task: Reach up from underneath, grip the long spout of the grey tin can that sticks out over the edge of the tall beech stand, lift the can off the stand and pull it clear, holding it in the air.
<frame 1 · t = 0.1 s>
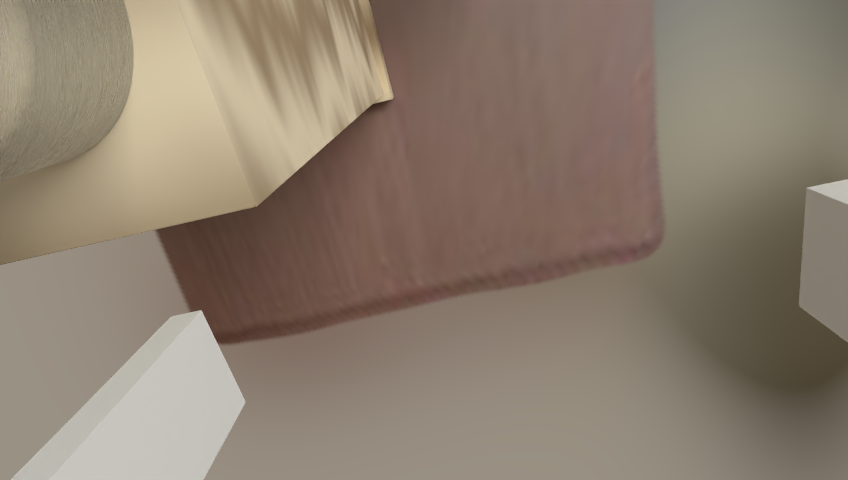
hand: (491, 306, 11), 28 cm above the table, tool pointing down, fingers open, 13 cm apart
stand: (314, 35, 35), on the table
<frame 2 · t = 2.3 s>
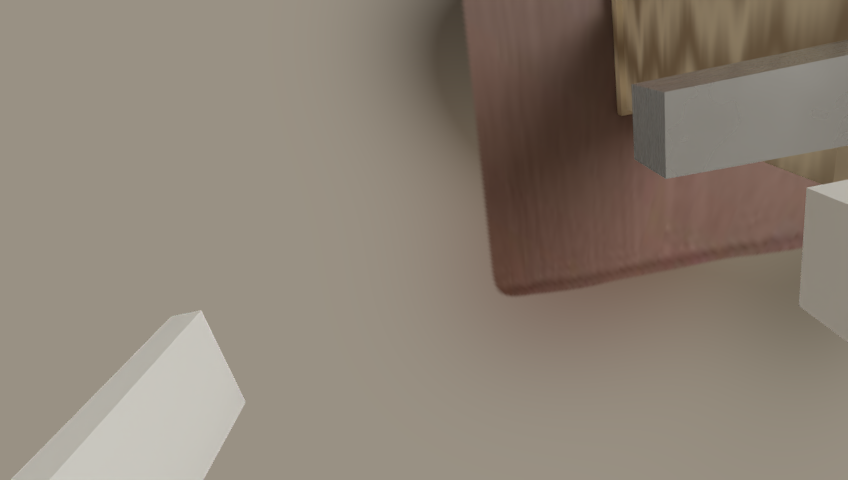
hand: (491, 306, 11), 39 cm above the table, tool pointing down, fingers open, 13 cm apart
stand: (664, 44, 44), on the table
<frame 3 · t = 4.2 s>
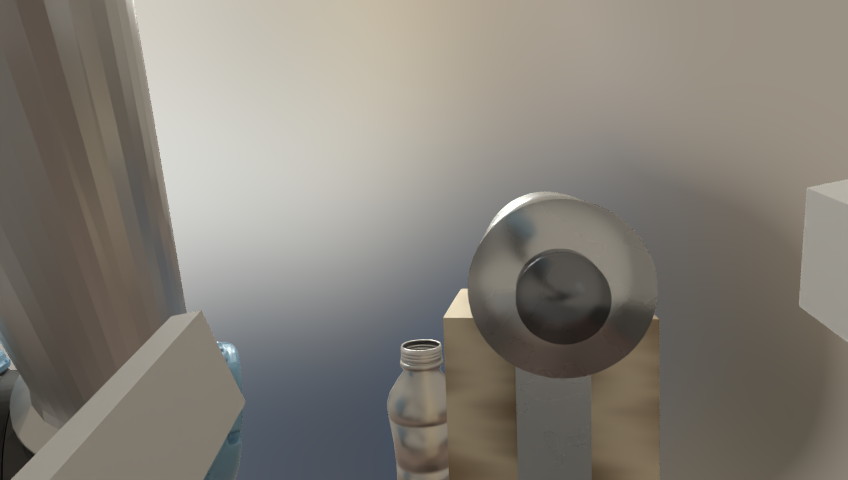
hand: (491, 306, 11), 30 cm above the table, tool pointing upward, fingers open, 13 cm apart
spout can: (544, 253, 23), point 30 cm above the table, tilted 93°, touching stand
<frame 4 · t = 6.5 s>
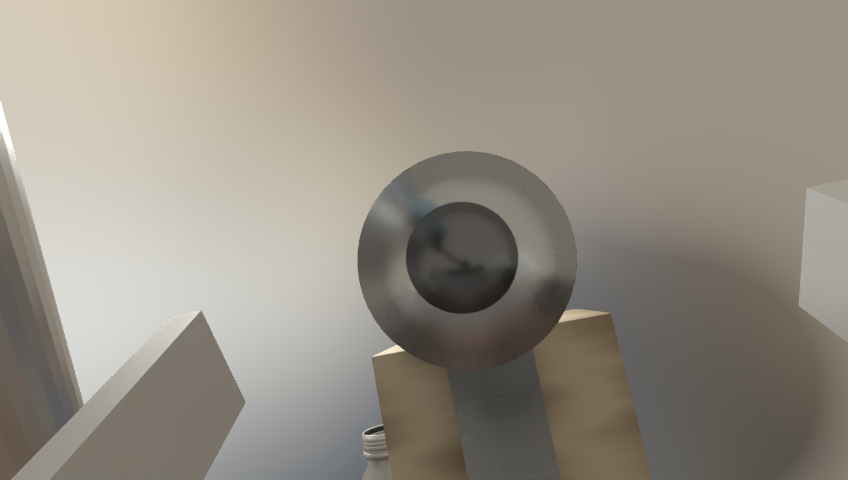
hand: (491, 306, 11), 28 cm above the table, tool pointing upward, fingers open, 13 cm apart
spout can: (473, 264, 21), point 30 cm above the table, tilted 93°, touching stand
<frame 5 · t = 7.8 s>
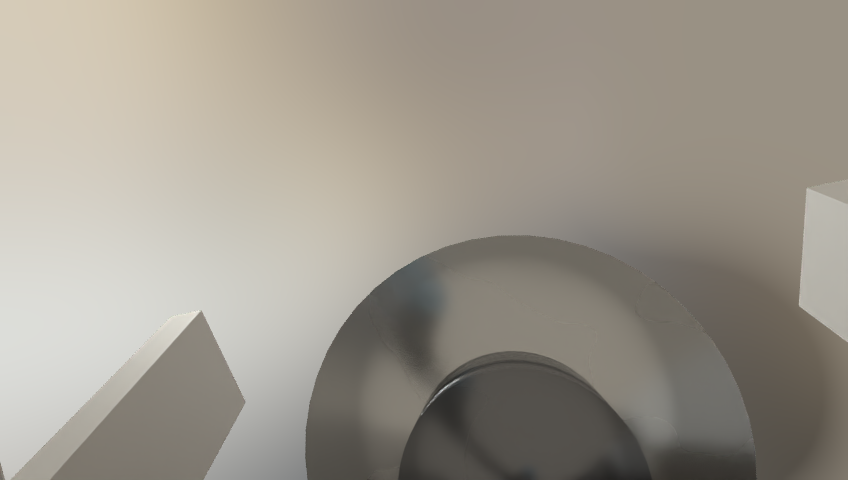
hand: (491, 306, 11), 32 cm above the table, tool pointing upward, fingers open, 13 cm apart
spout can: (502, 354, 14), point 30 cm above the table, tilted 93°, touching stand
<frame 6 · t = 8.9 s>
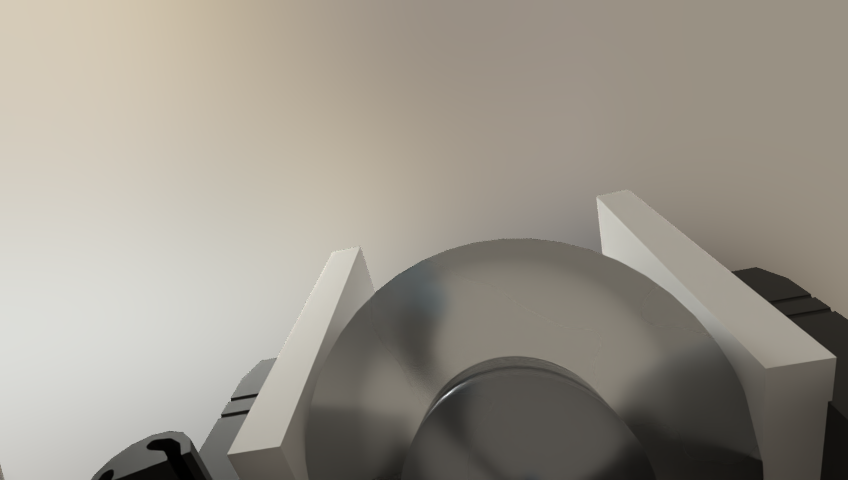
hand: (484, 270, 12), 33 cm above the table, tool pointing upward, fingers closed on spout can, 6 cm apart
spout can: (503, 356, 14), point 30 cm above the table, tilted 93°, touching gripper, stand
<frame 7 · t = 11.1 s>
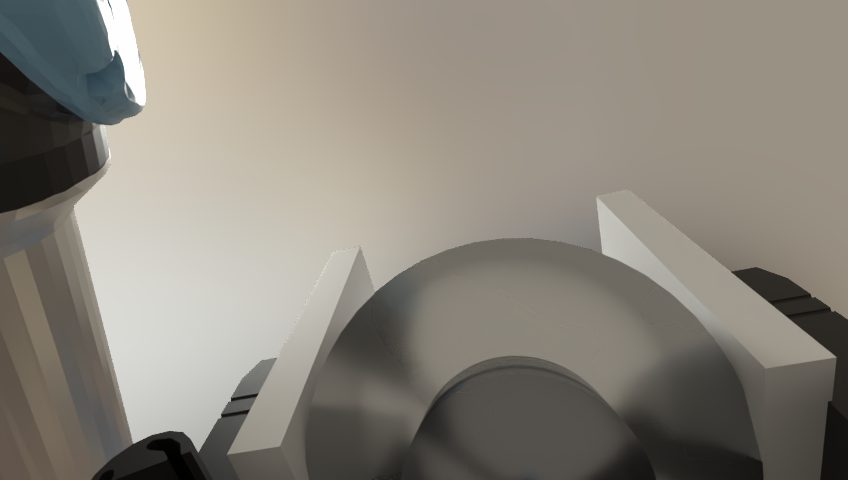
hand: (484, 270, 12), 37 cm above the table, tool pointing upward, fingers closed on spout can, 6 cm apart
spout can: (503, 356, 14), point 34 cm above the table, tilted 93°, touching gripper
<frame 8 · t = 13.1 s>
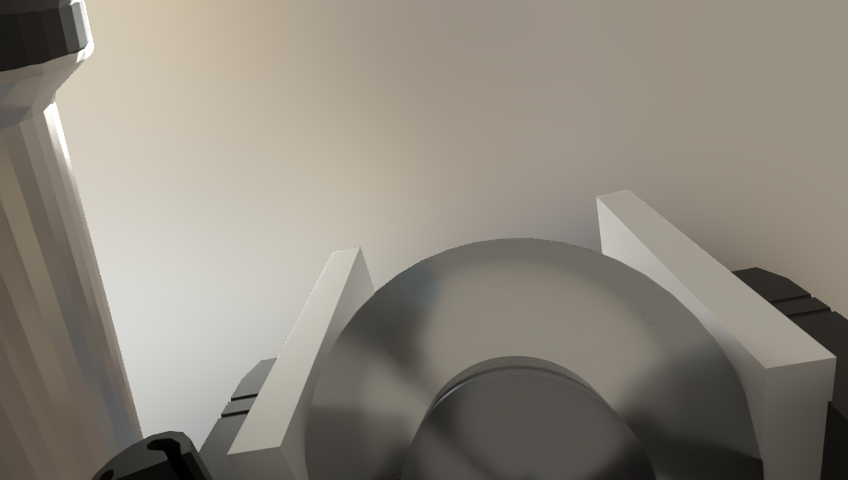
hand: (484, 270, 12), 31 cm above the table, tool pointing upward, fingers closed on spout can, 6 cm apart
spout can: (503, 356, 14), point 29 cm above the table, tilted 93°, touching gripper
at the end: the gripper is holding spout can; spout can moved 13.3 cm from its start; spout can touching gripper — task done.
